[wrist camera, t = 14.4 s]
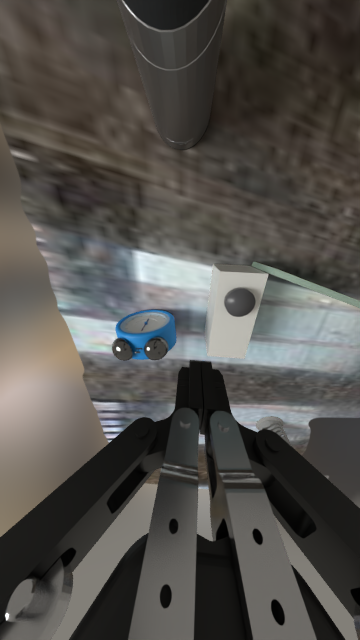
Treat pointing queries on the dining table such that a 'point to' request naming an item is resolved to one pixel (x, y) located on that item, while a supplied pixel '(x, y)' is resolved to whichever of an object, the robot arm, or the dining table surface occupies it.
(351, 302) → the side door
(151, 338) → the alarm clock
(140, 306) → the dining table surface
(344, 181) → the dining table surface
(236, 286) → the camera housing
